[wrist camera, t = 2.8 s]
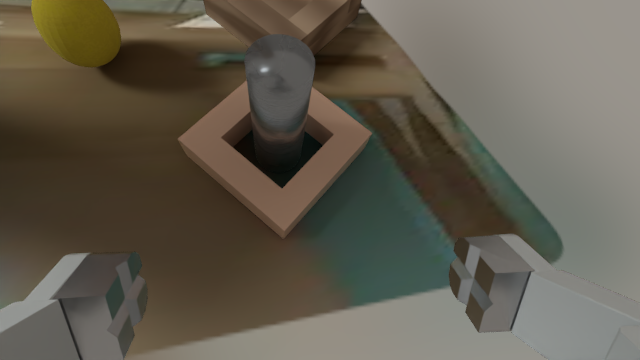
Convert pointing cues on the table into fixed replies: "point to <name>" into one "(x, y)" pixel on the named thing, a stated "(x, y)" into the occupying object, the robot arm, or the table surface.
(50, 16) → the lemon
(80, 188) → the table surface
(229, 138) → the socket collar
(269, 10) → the square peg hole block
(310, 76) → the steel peg
